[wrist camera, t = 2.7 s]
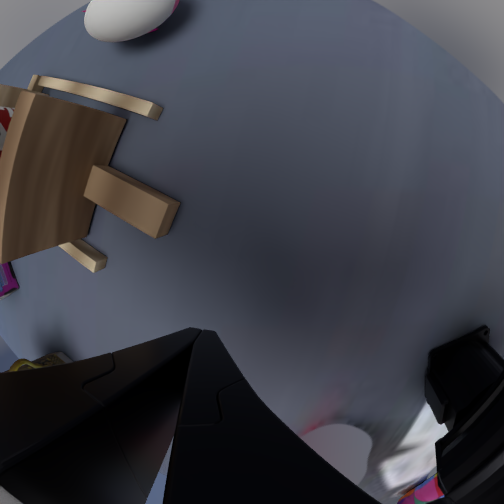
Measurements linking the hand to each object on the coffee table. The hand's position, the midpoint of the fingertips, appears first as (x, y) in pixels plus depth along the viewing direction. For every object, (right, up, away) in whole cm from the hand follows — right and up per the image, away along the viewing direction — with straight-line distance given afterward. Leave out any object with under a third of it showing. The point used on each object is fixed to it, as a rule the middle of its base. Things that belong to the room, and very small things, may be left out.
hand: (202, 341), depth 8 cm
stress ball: (-7, +22, +7) cm, 24 cm away
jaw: (-8, +7, +10) cm, 15 cm away
